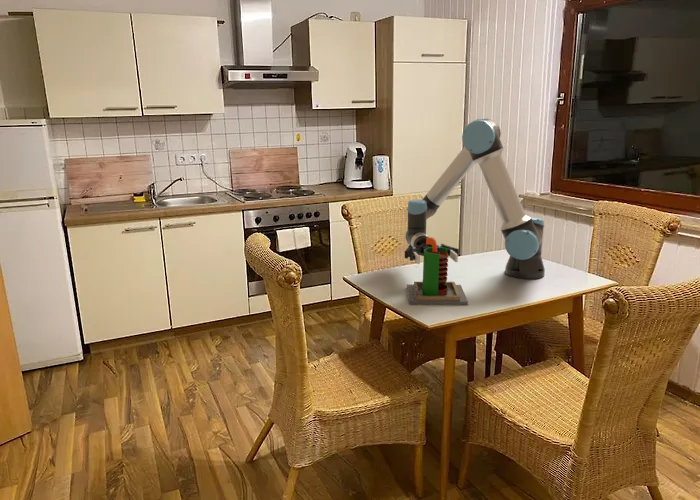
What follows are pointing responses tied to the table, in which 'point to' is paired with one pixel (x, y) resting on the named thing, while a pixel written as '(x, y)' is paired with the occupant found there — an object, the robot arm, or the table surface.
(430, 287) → the green cylindrical holder
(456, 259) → the robot arm
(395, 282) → the table surface
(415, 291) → the plate
